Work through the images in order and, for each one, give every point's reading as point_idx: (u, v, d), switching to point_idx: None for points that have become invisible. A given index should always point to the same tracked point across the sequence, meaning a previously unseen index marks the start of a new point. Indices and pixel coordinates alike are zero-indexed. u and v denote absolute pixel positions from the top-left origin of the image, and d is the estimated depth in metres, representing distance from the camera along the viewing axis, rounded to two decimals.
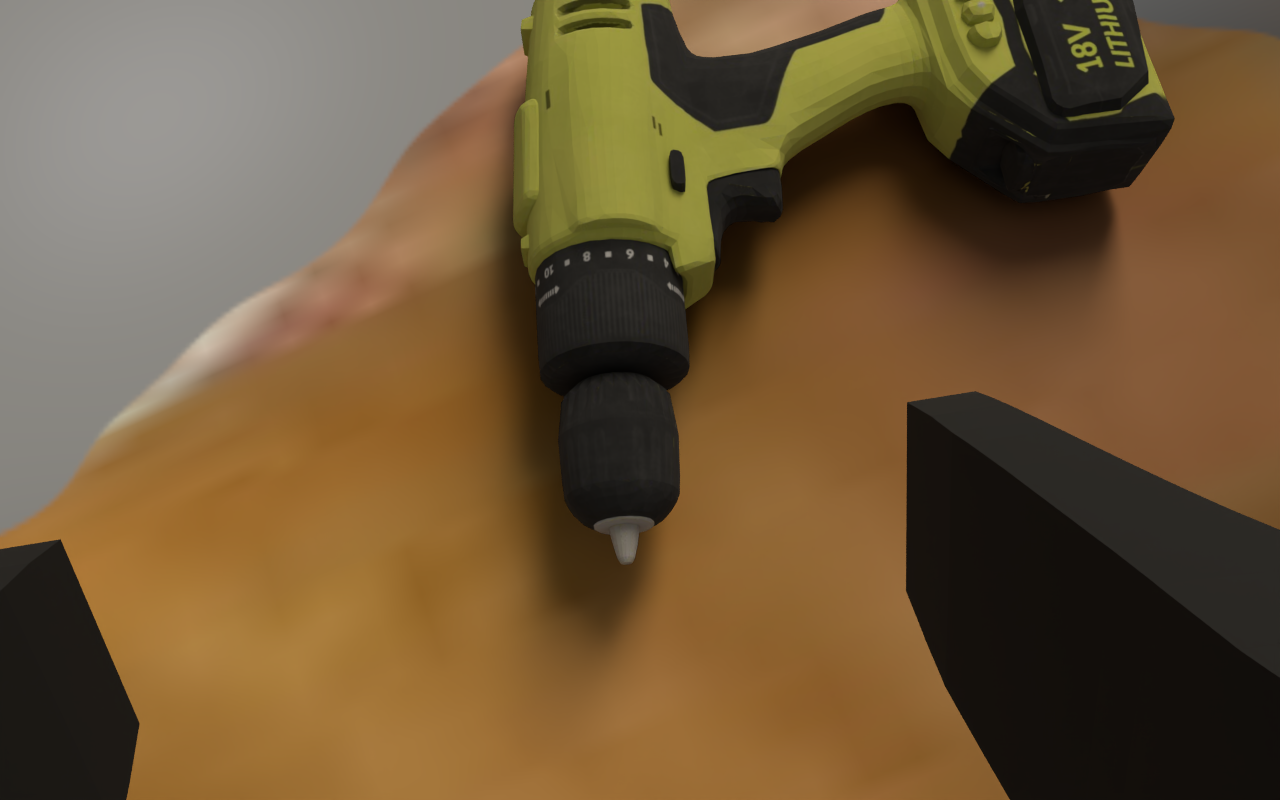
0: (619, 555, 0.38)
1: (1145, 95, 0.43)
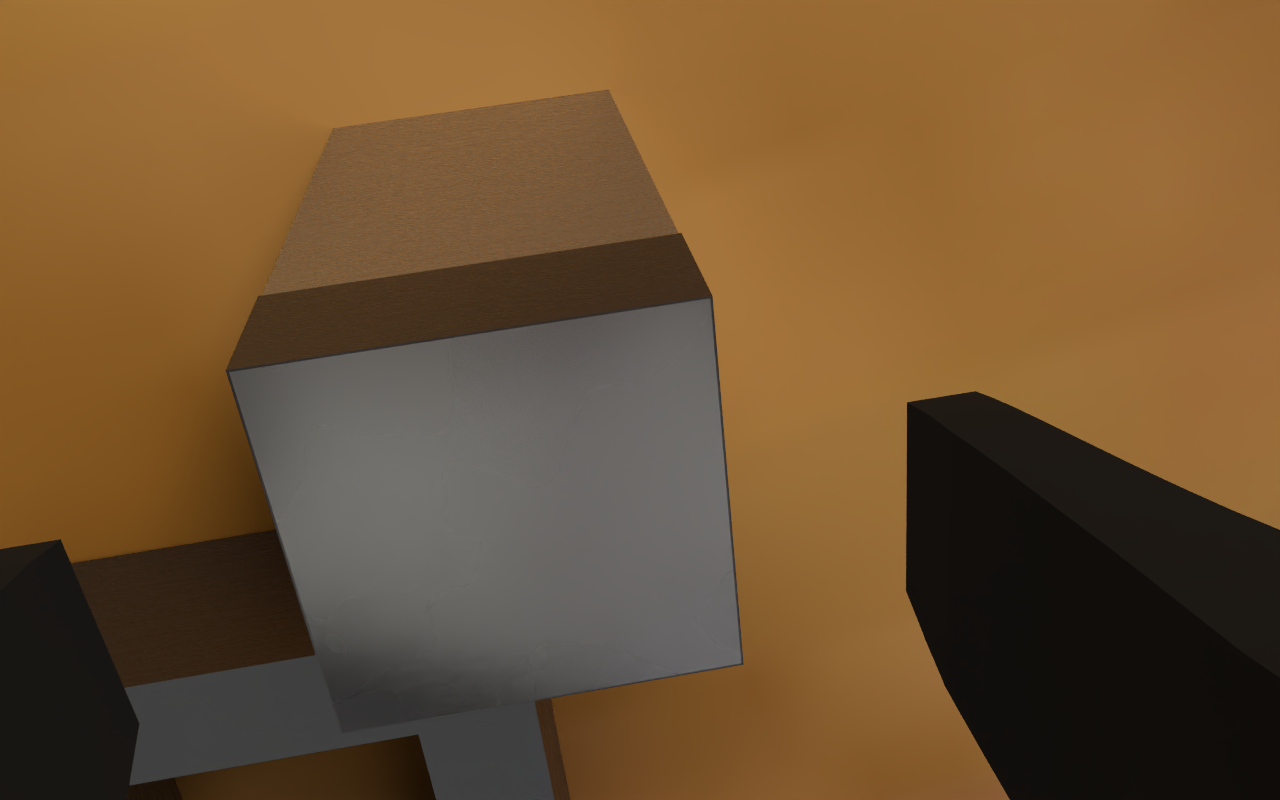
0: None
1: None
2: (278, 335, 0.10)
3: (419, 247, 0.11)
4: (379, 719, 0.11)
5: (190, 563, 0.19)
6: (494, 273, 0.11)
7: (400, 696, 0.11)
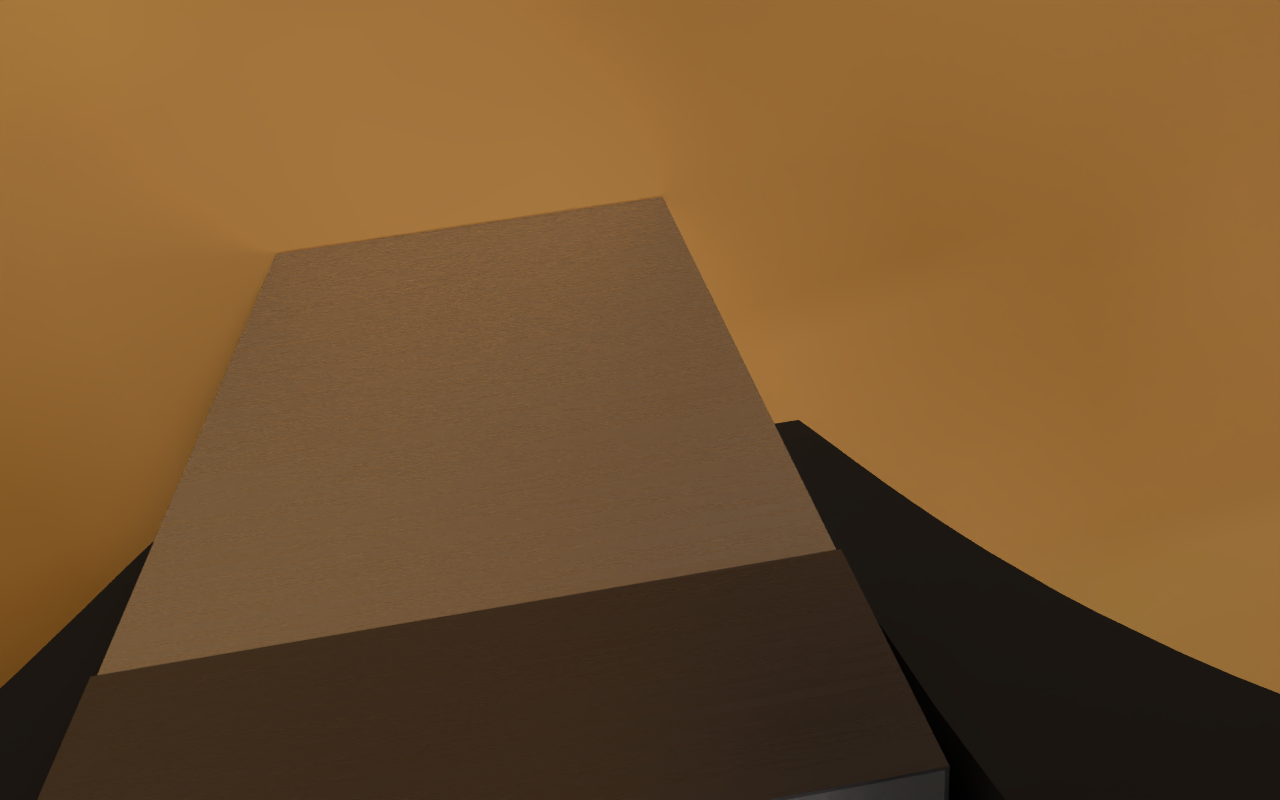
0: None
1: None
2: None
3: (382, 550, 0.07)
4: None
5: None
6: (514, 643, 0.06)
7: None
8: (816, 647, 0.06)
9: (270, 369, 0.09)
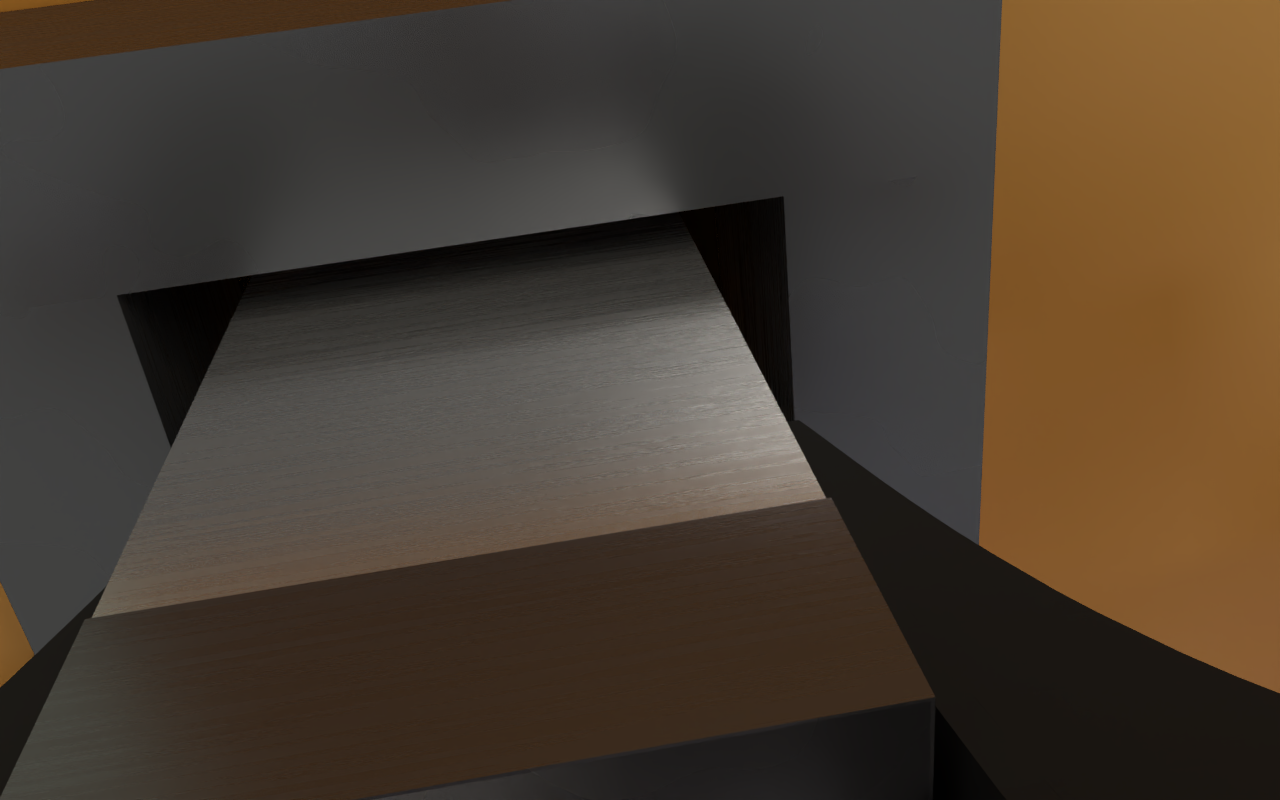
0: None
1: None
2: (95, 747, 0.05)
3: (377, 500, 0.07)
4: None
5: None
6: (506, 586, 0.06)
7: None
8: (805, 588, 0.06)
9: (266, 335, 0.09)
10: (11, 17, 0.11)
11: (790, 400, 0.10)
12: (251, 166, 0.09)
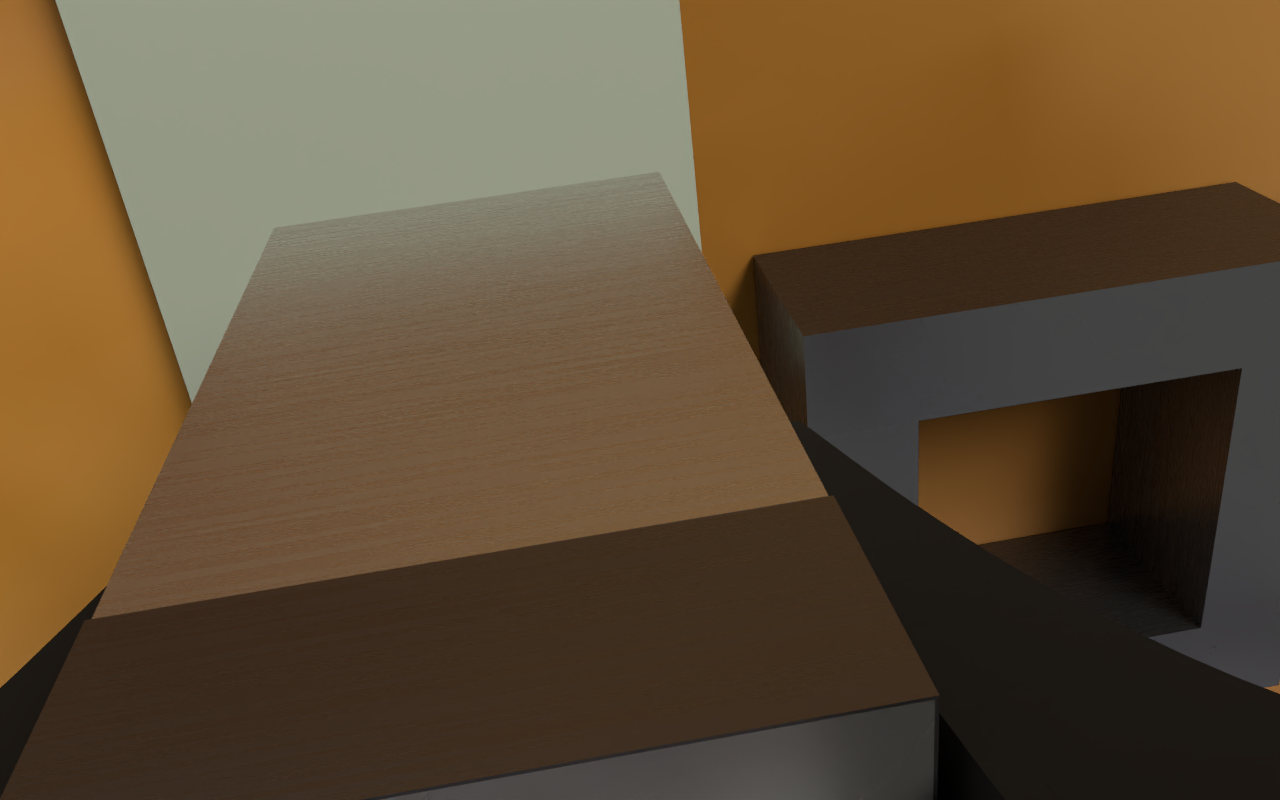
0: None
1: None
2: (93, 749, 0.05)
3: (376, 501, 0.07)
4: None
5: (967, 236, 0.20)
6: (506, 586, 0.06)
7: None
8: (807, 587, 0.06)
9: (266, 335, 0.09)
10: (792, 260, 0.20)
11: (1219, 467, 0.20)
12: (999, 360, 0.18)
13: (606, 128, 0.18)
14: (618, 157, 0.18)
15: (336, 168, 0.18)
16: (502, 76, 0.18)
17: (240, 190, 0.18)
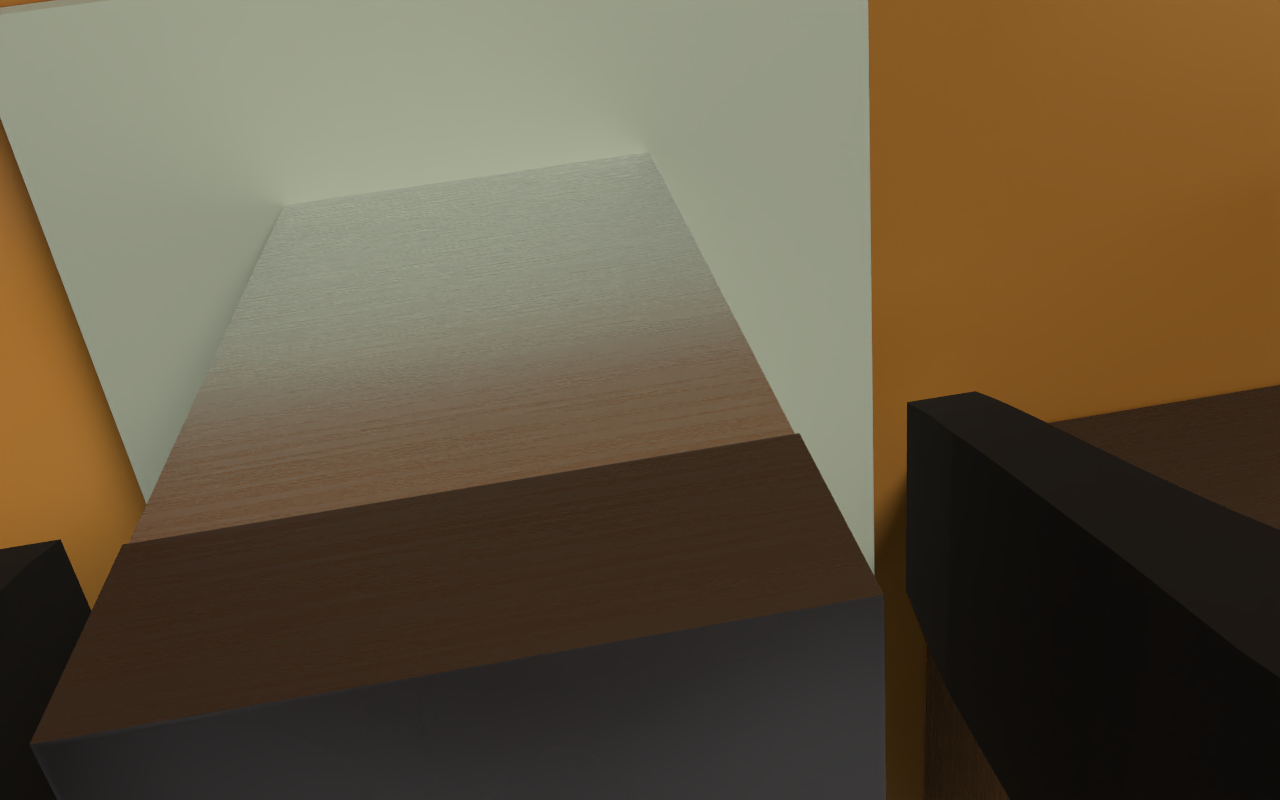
0: None
1: None
2: (138, 648, 0.06)
3: (386, 443, 0.07)
4: None
5: (1213, 420, 0.15)
6: (503, 512, 0.06)
7: None
8: (773, 509, 0.06)
9: (279, 301, 0.10)
10: None
11: None
12: None
13: (760, 299, 0.14)
14: (773, 335, 0.14)
15: None
16: None
17: None
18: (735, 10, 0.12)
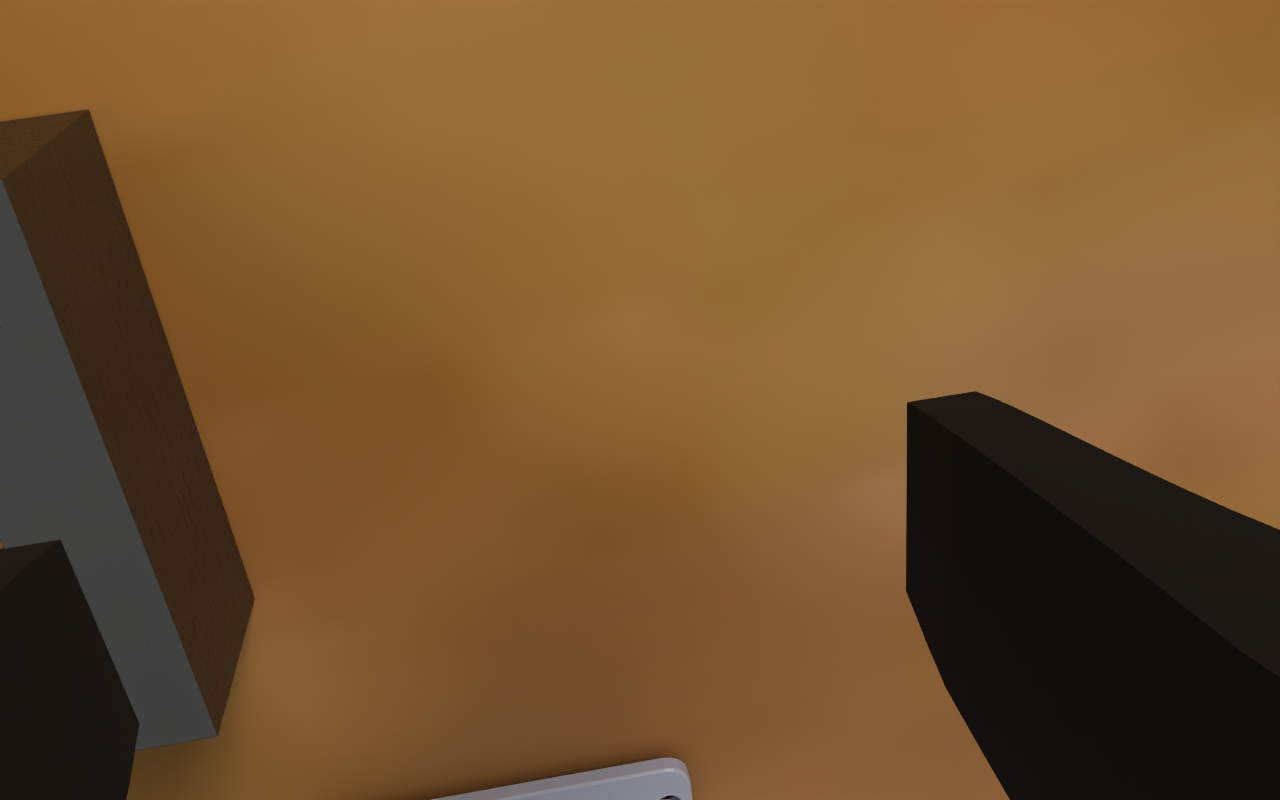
0: None
1: None
2: None
3: None
4: None
5: None
6: None
7: None
8: None
9: None
10: None
11: None
12: None
13: None
14: None
15: None
16: None
17: None
18: None
